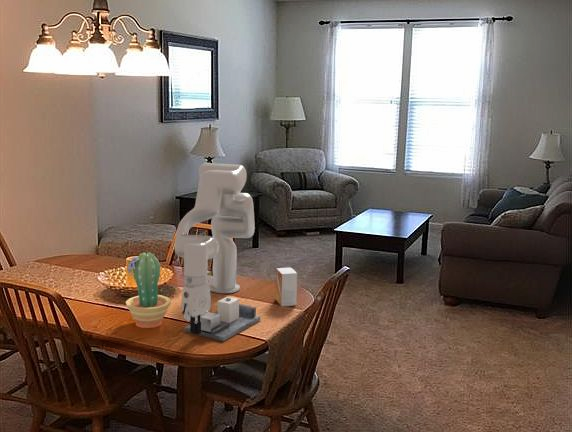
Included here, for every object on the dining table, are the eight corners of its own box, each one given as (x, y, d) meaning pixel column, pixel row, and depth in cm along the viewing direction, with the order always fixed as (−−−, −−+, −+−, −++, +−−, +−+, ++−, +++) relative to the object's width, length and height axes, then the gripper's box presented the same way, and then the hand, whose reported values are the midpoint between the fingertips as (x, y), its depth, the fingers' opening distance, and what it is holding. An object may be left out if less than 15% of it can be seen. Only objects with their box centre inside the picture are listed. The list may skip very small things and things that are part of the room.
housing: (217, 320, 219) (217, 299, 218) (227, 315, 224) (227, 294, 223) (229, 323, 217) (229, 302, 215) (238, 317, 222) (239, 297, 220)
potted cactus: (142, 312, 228) (141, 246, 223) (179, 319, 223) (179, 251, 218) (116, 326, 214) (115, 256, 209) (155, 334, 209) (154, 262, 204)
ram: (198, 329, 210) (198, 316, 209) (212, 321, 216) (212, 309, 215) (210, 332, 207) (210, 319, 206) (224, 324, 214) (224, 312, 213)
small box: (275, 299, 247) (275, 268, 244) (290, 298, 249) (291, 267, 246) (280, 306, 239) (281, 273, 237) (296, 305, 241) (297, 272, 238)
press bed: (184, 331, 212) (184, 318, 211) (223, 311, 232) (223, 300, 231) (223, 341, 204) (223, 328, 204) (260, 320, 224) (260, 308, 223)
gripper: (190, 287, 192) (190, 343, 196) (218, 275, 205) (218, 328, 209) (171, 283, 196) (171, 338, 199) (200, 272, 209) (200, 324, 212)
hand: (195, 333), depth 204 cm, fingers closed
